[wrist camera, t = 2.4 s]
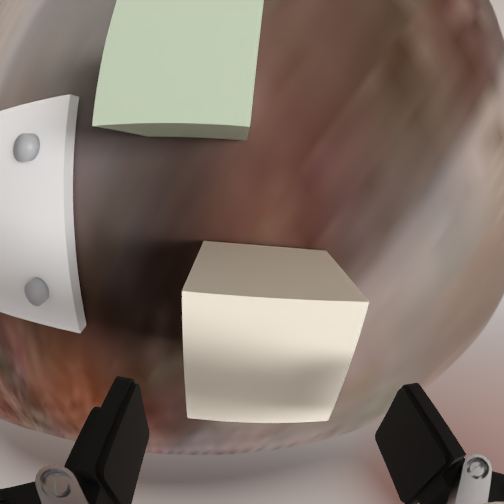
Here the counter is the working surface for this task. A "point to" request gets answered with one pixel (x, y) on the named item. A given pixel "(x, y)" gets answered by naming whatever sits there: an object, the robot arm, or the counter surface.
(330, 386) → the cream block
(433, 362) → the counter surface
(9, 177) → the plate
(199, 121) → the sage block
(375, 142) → the counter surface
